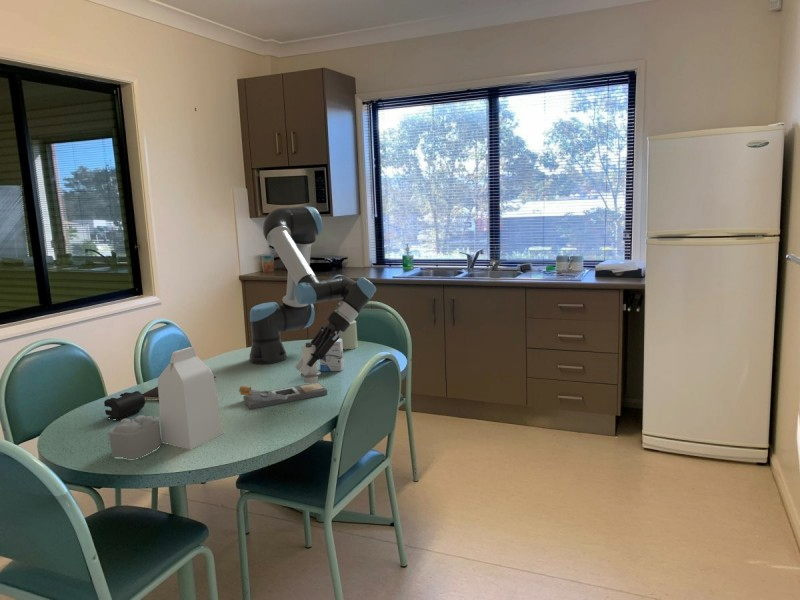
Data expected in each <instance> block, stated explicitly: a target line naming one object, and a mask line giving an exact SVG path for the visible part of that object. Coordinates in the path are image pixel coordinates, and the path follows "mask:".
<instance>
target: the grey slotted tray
mask: <svg viewBox="0 0 800 600" xmlns="http://www.w3.org/2000/svg"><path fill="white" fill-rule="evenodd" d="M268 391H269V392H270V393H275V394H281V395H284V394H286V395H287V397H288V399H286V400H284V399H278V398H272V397H261V396H260V395H254V394H252V395H250V396H247V395H243V401H244V402H246V403H245V404H246V406H247V405H248V406H247V407H248V408H250V409H249V410H253V409H259V408H264V407H269V406H274V404H275V405H279V403H280V404H283V403H284V402H285V403H290V402H295V401H300V399H301V400H304V399H305V398H306V399H309V398H310V397H311V398H315V396H316V397H321V396H324V395H325V394H326V395H328V389H327V388H326V387H324V386H323V385H322V384H321V383H320V382H319V381H317V382H314V383H306V384H301V385H294V386H290V387H284V388H278V389H273V390H268ZM290 393H291V394H290ZM320 395H321V396H320ZM326 395H325V396H326ZM294 400H295V401H294ZM289 401H290V402H289Z"/></svg>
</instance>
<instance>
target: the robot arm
mask: <svg viewBox="0 0 800 600" xmlns="http://www.w3.org/2000/svg"><path fill="white" fill-rule="evenodd" d="M262 232H263V236H264V238H265V239H264V240H265V241H266V242H267V243H268V245H269V246H271V247H273V248H274V250H275V252H276V253H277V255H278V257H279V259H280V260H281V262H282V263H283V265H284V266H285V268H286V270H287V281H286V293H285V294H286V295H284V296H283V297H282V302H281V304H278V303H277V302H276V301H269V302H264V303H260V304H257V305H254V306H253V307H251V309H250V310H249V322H250V330H251V340H252V342H251V343H252V344H251V347H250V351H249V355H248V356H249V362H250V363H251V364H256V365H269V364H275V363H279V362H283V361H285V360H286V359H287V351H286V349H285V347H284V344H283V342H282V339H281V338H282V337H281V333H285V332H291V331H296V330H303V329H306V328H309V327H310V326H311V325H312V324H313V323H314V321H315V314H316V312H315V306H314V304H318V303H322V302H329V301H337V300H341V301H339V302H338V303H337V306H336V307H335V309H334V311H332V312H331V313H330V314H329V316H328V317H327V321H328V322H329V323H328V324H327V325H326V326H321V327H320V329H319V331H318V332H317V333H316V335H315V336H314V337H313V338H312V340H311V341H310V342H309V343H311V345H315V346H316V350H315V352H314V353H311V355H312V356H310V357H309V358H308V359H307V361H306V362H305V363H304V364H303V356H302V357H301V358H300V359H299V360H298V362H297V363H296V364H295V366H294V368H295V369H296V370H297V371H298V372H300V374H301V373H302V374H304V375H306V374H307V373H308V372H309V370H310V369H311V368H312V366H313V365H314V364H315V363H316V361H317V362H318V361H320V360H322V358H323V357H324V356H325V355H326V353H327V352H328V351H329V350H330V348H331V347H332V346H333V344H334V343H335V342H336V341H337V340H338V339H339V338H340V337H339V336H338V333H339V331H342V332H345V331H346V329H347V328H348V327H349V326H350V322H351V323H352V322H353V321H354V320H355V319H357V317H358V316H359V315H360V312H361V311H362V310H363V309H364V308H365V306H367V305H368V303H369V302H370V301H371V299H372V298H373V296H374V294H375V293H376V291H377V287H376V286H375V285H374V284H373V282H371V281H370V280H369V279H367V278H366V277H364V276H361V277H359V278H357V280H353V279H351V278H350V277H348V276H346V275H342V274H335V275H334V276H333V277H331V278H330V279H323V280H321V279H320V280H319V278H318V277H317V276H316V274H315V272H314V271H313V269H312V267H311V266H310V265H311V255H312V254H311V251H312V245H313V244H314V243H316V237H317V236H319V235H321V234H322V233H323V220H322V216H321V214H320V211H318V210H317V208H315V207H313V206H293V207H278V208H276V209H274V210H272V211H270V212H269V213H268V214H267V216H266V217H265V219H264V221H263V226H262Z"/></svg>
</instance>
